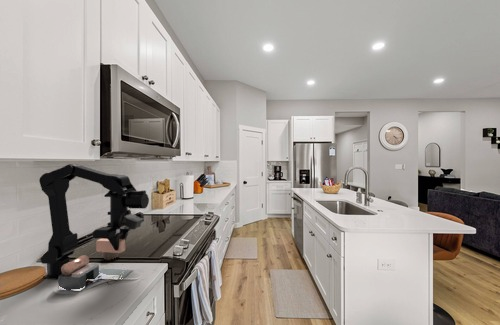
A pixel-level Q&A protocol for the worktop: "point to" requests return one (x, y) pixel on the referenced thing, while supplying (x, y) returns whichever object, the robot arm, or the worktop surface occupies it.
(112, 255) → the vase
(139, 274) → the worktop surface
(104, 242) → the salmon pink rectangular block
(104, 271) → the mat
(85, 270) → the dispenser
